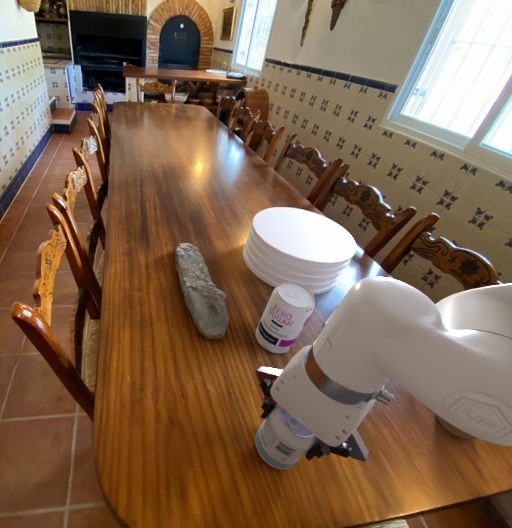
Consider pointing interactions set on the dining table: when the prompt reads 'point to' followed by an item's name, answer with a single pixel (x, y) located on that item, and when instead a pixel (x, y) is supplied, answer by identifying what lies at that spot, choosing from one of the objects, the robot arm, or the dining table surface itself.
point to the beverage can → (283, 439)
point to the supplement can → (284, 317)
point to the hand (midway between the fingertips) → (288, 430)
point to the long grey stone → (201, 293)
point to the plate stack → (298, 248)
